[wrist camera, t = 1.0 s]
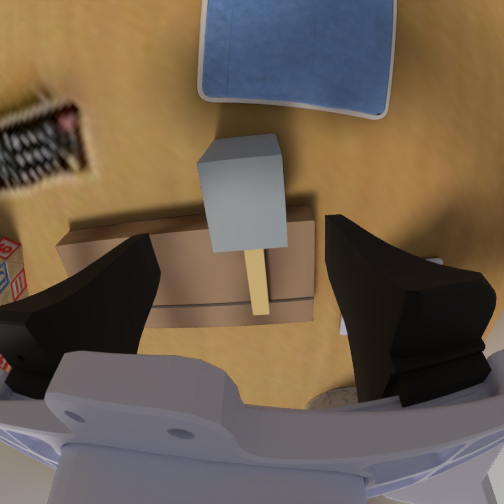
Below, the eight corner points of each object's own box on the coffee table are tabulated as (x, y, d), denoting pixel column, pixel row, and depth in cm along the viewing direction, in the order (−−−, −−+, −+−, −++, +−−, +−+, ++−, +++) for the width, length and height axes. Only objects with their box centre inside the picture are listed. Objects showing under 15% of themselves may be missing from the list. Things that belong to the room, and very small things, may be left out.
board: (308, 204, 21) (314, 220, 19) (309, 300, 26) (312, 321, 24) (69, 231, 22) (54, 246, 20) (103, 309, 27) (94, 327, 25)
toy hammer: (275, 133, 18) (281, 154, 13) (285, 281, 25) (290, 335, 20) (214, 139, 19) (196, 163, 14) (237, 284, 25) (232, 338, 20)
